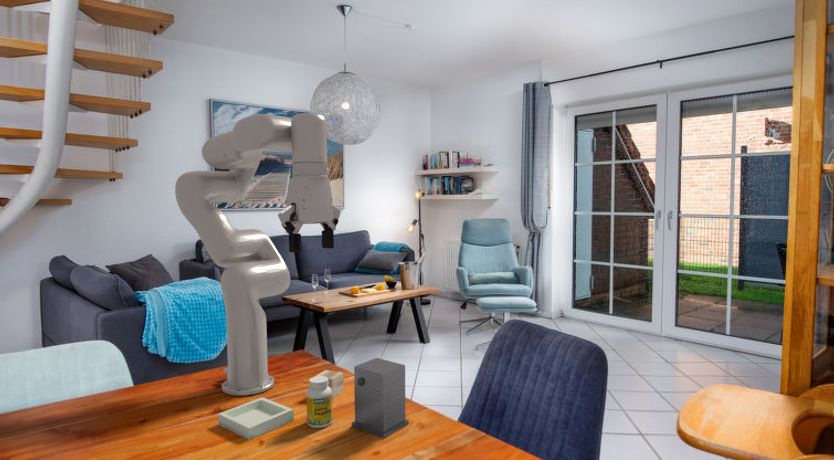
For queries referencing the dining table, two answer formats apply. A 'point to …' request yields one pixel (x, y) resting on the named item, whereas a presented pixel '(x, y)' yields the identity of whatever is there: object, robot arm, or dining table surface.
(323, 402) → the supplement bottle
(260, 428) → the tray
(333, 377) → the beech block
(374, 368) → the tabletop unit
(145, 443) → the dining table surface
